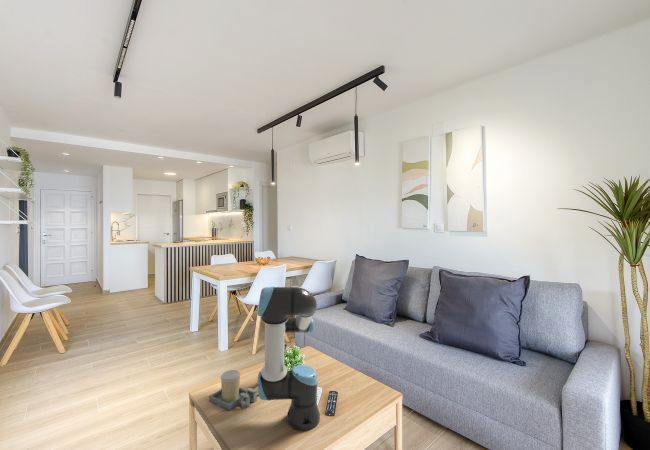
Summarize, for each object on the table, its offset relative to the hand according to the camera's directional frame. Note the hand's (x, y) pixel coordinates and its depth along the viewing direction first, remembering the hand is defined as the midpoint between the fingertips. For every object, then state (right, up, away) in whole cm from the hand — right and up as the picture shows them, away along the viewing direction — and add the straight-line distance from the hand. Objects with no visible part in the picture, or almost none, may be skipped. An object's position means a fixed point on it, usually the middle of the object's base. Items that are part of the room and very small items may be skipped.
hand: (277, 376), depth 172 cm
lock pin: (-7, -2, -13) cm, 15 cm away
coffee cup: (-21, -2, -18) cm, 28 cm away
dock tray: (-19, -3, -19) cm, 27 cm away
